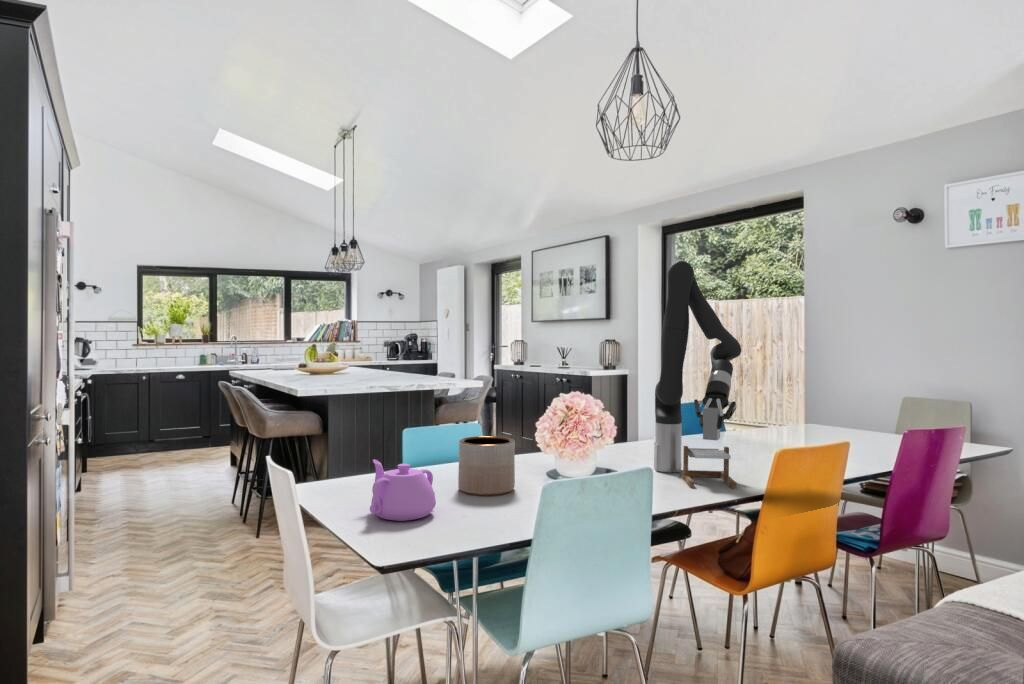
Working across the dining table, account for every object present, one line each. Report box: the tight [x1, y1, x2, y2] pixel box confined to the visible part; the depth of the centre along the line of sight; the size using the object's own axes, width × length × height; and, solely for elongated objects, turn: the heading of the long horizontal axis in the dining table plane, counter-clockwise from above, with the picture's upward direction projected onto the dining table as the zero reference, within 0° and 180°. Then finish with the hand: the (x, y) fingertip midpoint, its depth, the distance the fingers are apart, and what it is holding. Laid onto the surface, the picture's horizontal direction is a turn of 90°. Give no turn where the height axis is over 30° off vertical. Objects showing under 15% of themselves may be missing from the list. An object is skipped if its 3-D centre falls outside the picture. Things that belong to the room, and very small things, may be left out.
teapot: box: [369, 459, 437, 522], centre depth 180 cm, size 22×22×14 cm
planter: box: [457, 435, 516, 497], centre depth 208 cm, size 18×18×16 cm
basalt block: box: [702, 407, 721, 441], centre depth 215 cm, size 4×4×10 cm
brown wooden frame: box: [679, 445, 738, 490], centre depth 221 cm, size 18×15×12 cm
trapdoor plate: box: [688, 447, 732, 460], centre depth 220 cm, size 15×11×3 cm
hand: (710, 427), depth 214 cm, fingers closed on basalt block, 4 cm apart
